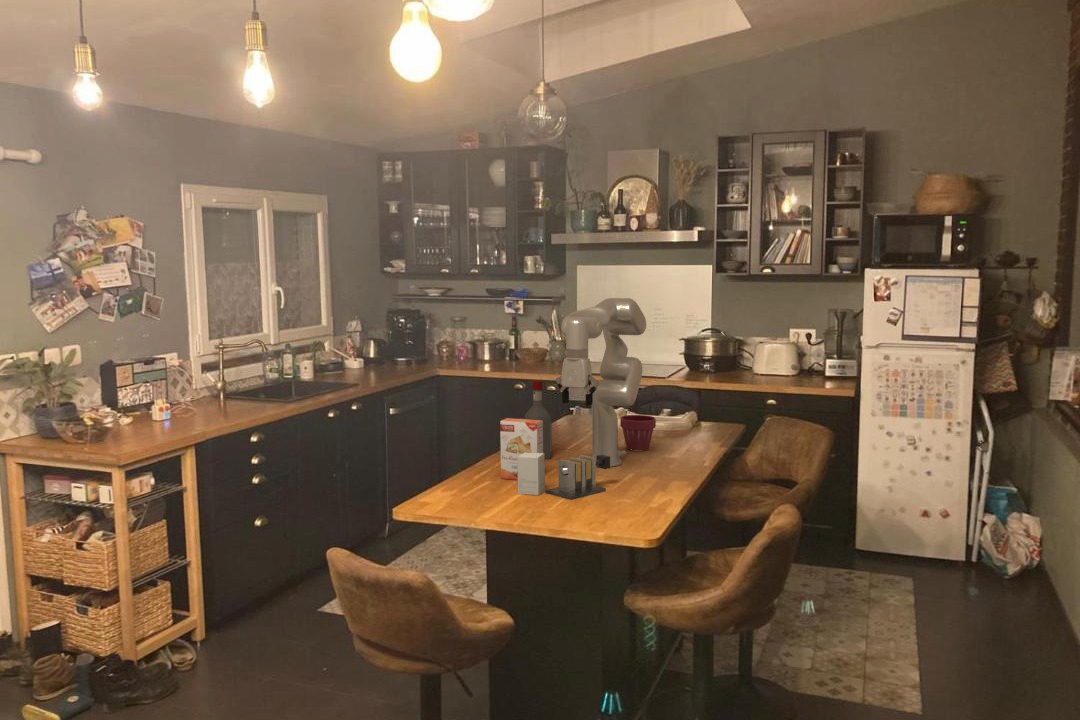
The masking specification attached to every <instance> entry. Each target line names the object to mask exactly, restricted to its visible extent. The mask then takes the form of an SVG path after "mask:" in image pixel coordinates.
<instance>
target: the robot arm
mask: <svg viewBox="0 0 1080 720" xmlns="http://www.w3.org/2000/svg"><path fill="white" fill-rule="evenodd" d="M560 326H561V327H560V329H561V333H562V335H563V337H565V338H566V339H565V341H566V343H565V344H566V346H565V347H566V349H565V350H564V351H563V354H564V355H565V358H564V359H563V362H562V367H561V368H562V369H561V375H560V376H557V378H555V382H556V384H557V387H558V388H559V391H560V392H561V403H562V404H568V403H570V391H569V388H572V389H583V390H584V391H585V392H586V394H585V404H584V405H585V406H589V407H590V406H591V417H592V419H591V420H592V421H591V423H592V424H591V425H592V427H591V431H592V432H591V437H592V439H591V440H592V441H591V442H592V443H591V444H592V448H591V449H592V450H591V451H592V452H591V453H592V454H591V457H595V458H596V460H597V455H606V456H610V468H611V467H617V466H620V465H622V464H623V460H622V459H621V457H623V456H625V455H626V454H627V452H626V450H624V449H623V450H619V449H618V448H619V442H618V440H619V439H618V438H619V433H618V432H619V430H618V429H619V425H618V424H619V421H618V420H619V418H618V414H617V412H616V411H615V408H614V407H631V406H633V405H634V404H635V402H636V401H637V400H636V399H637V395H638V393H639V388H640V384H641V381H642V376H643V363H642V362H641V360H640V359H639V358H637V357H633V356H628V354H629V350H628V349H629V348H628V346H627V344H626V342H624V340H623V339H622V338H621V336H641V335H642V334H644V333H645V331H646V329H647V320H646V316H645V314H644V313H643V311H642V309H641V307H640V305H638V303H637V302H636V301H635V300H634V299H633V298H627V297H626V298H625V297H624V298H623V297H621V298H620V297H618V298H617V297H609V298H604V299H603V300H602V301H600V302H599V303H597V304H596V305H595V306H592V307H588V308H583V309H579V310H576V311H573V312H571V313H569V314H567V315H566V316H565V317H564V318H563V319H562V321H561V325H560ZM602 333H603V338H604V342H605V349H604V353H603V357H602V361H601V363H600V369H599V375H600V378H601V379H596V378H595V377H594V376H593V373H592V371H593V370H592V365H591V359H590V358H589V339H590V340H592V339H597V338H598V337H600V336H601V335H602Z"/></svg>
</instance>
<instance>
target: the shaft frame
mask: <svg viewBox="0 0 1080 720" xmlns="http://www.w3.org/2000/svg"><path fill="white" fill-rule="evenodd" d="M579 458H583V459H579ZM584 459H587V460H591V479H585V460H584ZM567 460H571V461H567ZM572 461H576V462H580V463H581V481H578V482H575V462H572ZM557 464H558V467H557V468H558V487H554V488H553V487H552V488H549V489H545V491H544V492H545V494H547V495H550V496H555V497H558V498H563V499H566V500H571V501H572V500H578V499H580V498H584V497H588V496H591V495H596V494H601V493H603V492H606V491H607V488H606V487H605V486H599V485H597V484H596V483H597V481H596V479H597V478H596V471H597V467H596V458H595V457H592V456H588V455H586V454H585V455H584V454H580V455H578V457H574V456H572V457H568V459H562V458H561V459H558V462H557ZM565 467H568V474H561V472H560V469H561V468H565Z"/></svg>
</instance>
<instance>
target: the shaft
mask: <svg viewBox="0 0 1080 720" xmlns="http://www.w3.org/2000/svg"><path fill="white" fill-rule="evenodd" d="M597 468H598V469H602V470H608V469H611V467H610V456H606V455H597V460H596V469H597ZM560 472H561V474H566V473H568V467H565V468H561V469H560Z"/></svg>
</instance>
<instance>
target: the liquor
mask: <svg viewBox="0 0 1080 720" xmlns="http://www.w3.org/2000/svg"><path fill="white" fill-rule="evenodd" d="M531 405H532V406H530V408H529V410H528V411H527V412H525V415H524V417H523V419H527V420H542V421H543V453H544V456H545V459H547V460H550V459H551V457H552V455H553V449H552V448H553V440H552V439H553V438H552V435H553V434H552V421H553V420H552V415H551V413H550V412H549V411H548V410H547V408H546V407H545V406H544V404H543V380H539V379H537V380H532V404H531Z"/></svg>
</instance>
